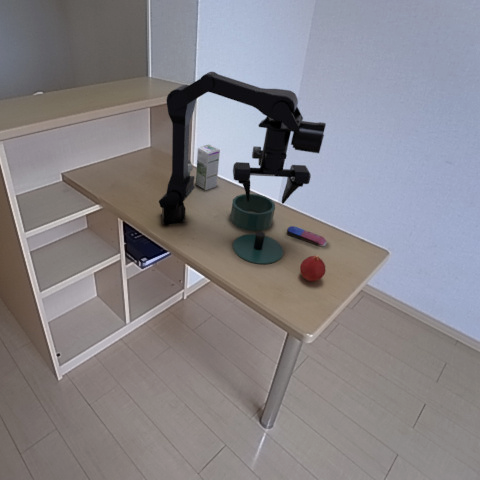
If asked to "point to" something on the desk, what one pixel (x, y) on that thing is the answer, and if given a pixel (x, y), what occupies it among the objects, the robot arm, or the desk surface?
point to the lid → (258, 248)
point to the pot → (250, 219)
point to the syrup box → (207, 167)
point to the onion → (312, 268)
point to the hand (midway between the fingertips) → (265, 201)
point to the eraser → (306, 236)
